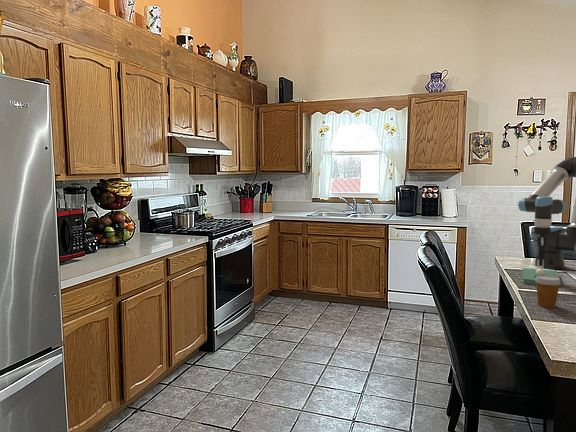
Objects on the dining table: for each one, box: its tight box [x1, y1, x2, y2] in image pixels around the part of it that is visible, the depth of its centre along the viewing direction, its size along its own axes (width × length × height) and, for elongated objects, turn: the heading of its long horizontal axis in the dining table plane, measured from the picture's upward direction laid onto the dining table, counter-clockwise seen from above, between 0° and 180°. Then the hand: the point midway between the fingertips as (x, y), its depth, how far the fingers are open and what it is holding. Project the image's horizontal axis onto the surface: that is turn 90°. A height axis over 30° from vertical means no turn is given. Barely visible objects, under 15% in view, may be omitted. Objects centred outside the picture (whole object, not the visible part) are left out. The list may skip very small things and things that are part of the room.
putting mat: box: [521, 267, 562, 288], centre depth 226 cm, size 26×16×2 cm, turn 153°
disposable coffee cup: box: [535, 275, 562, 308], centre depth 184 cm, size 10×10×12 cm
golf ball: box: [536, 268, 545, 275], centre depth 223 cm, size 4×4×4 cm
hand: (540, 271), depth 227 cm, fingers closed
